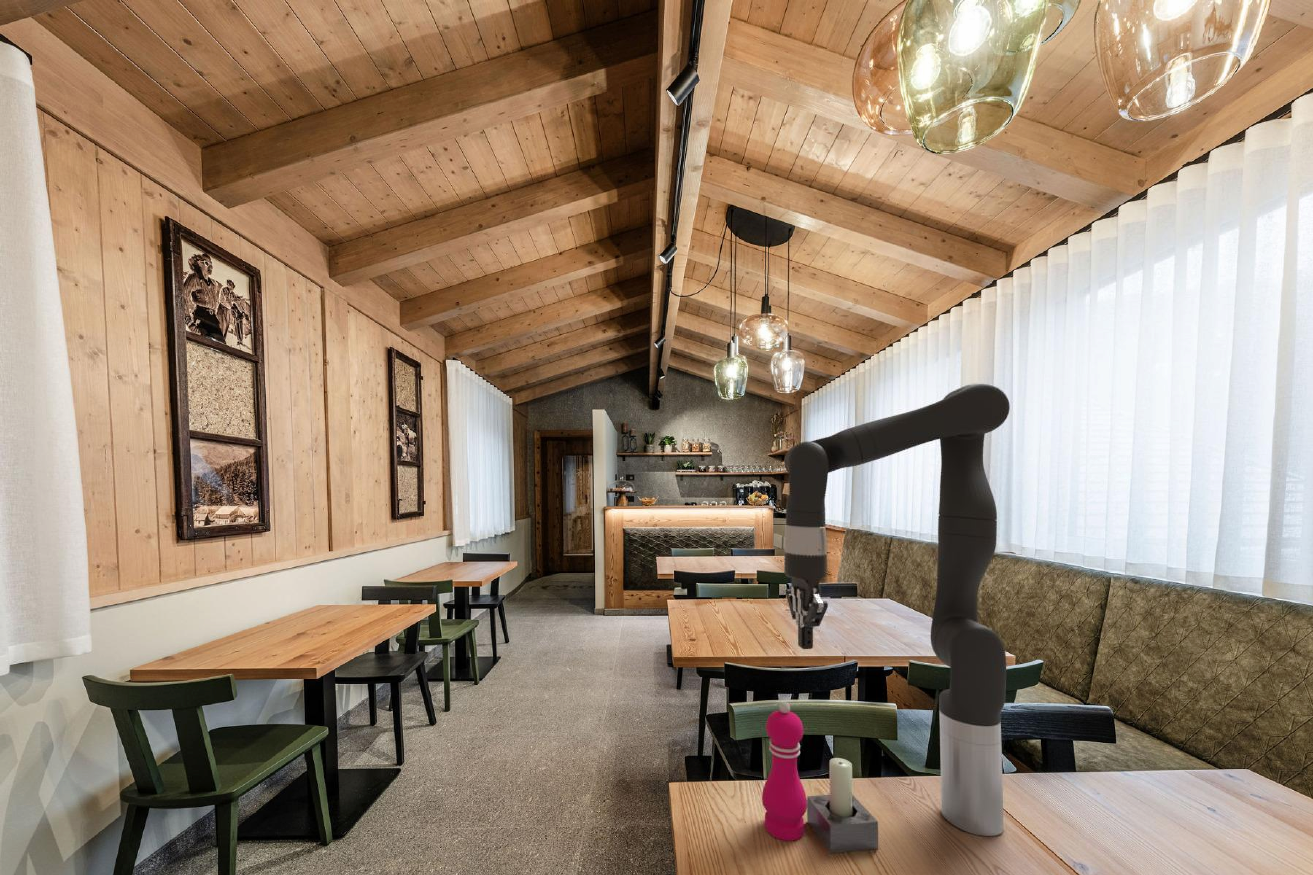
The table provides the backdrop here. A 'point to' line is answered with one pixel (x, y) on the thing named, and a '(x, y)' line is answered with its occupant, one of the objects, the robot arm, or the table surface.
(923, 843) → the table surface
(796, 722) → the pepper mill
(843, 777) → the candle
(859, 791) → the table surface
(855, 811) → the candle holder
